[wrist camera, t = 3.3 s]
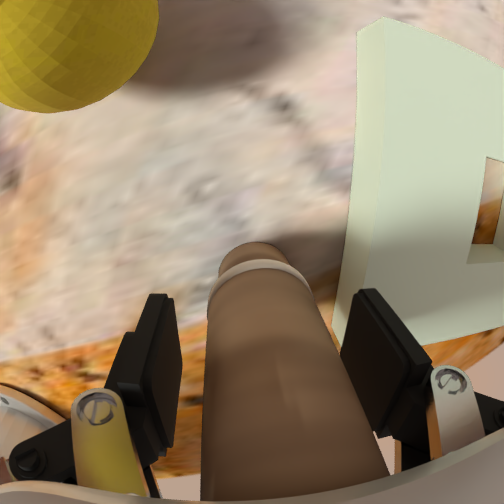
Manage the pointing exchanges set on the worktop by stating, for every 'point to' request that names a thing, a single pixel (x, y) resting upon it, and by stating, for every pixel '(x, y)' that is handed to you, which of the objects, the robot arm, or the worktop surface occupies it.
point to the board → (423, 184)
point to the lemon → (71, 50)
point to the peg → (276, 389)
